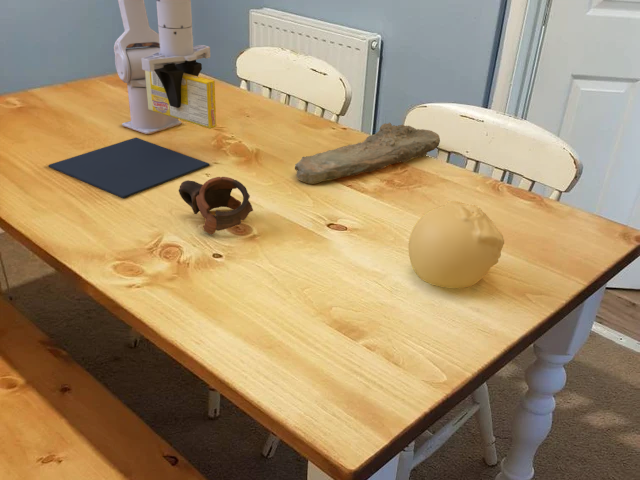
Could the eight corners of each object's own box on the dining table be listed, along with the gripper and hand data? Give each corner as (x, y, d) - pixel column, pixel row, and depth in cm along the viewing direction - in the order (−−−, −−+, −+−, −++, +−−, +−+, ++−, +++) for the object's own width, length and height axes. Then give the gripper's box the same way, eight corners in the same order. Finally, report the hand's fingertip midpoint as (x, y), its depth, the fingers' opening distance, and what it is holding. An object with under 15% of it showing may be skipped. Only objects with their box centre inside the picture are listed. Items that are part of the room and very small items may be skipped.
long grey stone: (281, 179, 126) (315, 200, 120) (281, 152, 123) (316, 173, 117) (415, 135, 144) (450, 151, 138) (418, 110, 141) (454, 126, 135)
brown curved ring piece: (258, 213, 112) (263, 182, 104) (236, 259, 107) (240, 230, 100) (188, 186, 112) (188, 154, 104) (164, 231, 107) (162, 200, 100)
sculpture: (506, 293, 94) (522, 221, 88) (425, 303, 90) (436, 229, 84) (467, 253, 103) (480, 185, 97) (393, 261, 100) (401, 191, 93)
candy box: (218, 126, 124) (215, 80, 119) (210, 130, 122) (206, 82, 117) (156, 107, 131) (150, 62, 127) (147, 110, 130) (142, 65, 125)
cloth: (136, 139, 136) (136, 137, 136) (209, 165, 126) (209, 163, 126) (48, 167, 122) (48, 164, 122) (123, 198, 113) (123, 196, 113)
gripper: (159, 35, 111) (166, 118, 118) (221, 23, 121) (223, 101, 128) (130, 28, 114) (138, 109, 122) (192, 17, 124) (196, 93, 132)
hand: (180, 104), depth 125 cm, fingers closed on candy box, 2 cm apart
